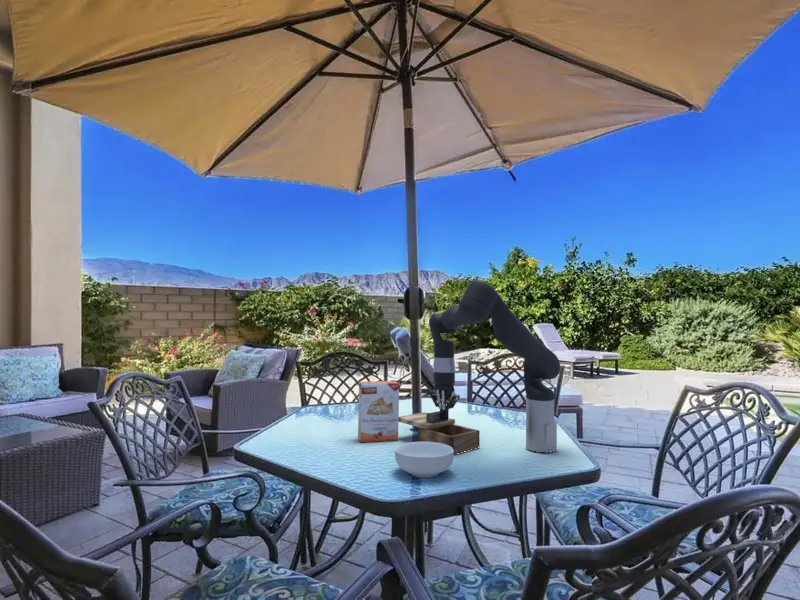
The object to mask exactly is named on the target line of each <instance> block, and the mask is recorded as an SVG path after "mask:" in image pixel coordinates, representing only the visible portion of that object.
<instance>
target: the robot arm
mask: <svg viewBox="0 0 800 600" xmlns="http://www.w3.org/2000/svg"><path fill="white" fill-rule="evenodd" d="M489 317H490V318H491V323H492V324H491V325H492V328H493V332H494V335H495V338H496V339H497V341H498V342H499V344H501V345H502V346H503V347H504V348H505V349H506V351H508V352H510V353H511V354H513V355H516V356H518V357H520V358H523V380H524V381H523V382H524V385H523V386H524V390H525V449H526V448H527V449H529V450H528V451H530V450H532V451H531V452H533V451H536V452H535V453H539V452H546V453H548V452H550V451H553V450H556V449H558V448H557V446H558V441H557V440H558V438H557V437H558V436H557V435H558V434H557V431H558V429H557V428H558V425H557V424H558V422H557V421H555V392H554V390H552V389H551V388H549V387H548V386H546V385H545V384H544V383H543V382H542V380H553V379H556V378H557V377H558V376H559V375H560V373H561V372H560V371H561V363H560V360H559V357H558V356H557V355H556V354H555V352H553V351H552V350H550V349H549V348H548V347H547V346H545V345H544V344H543V343H542V342H541V341H540V340H539V339H538V338H537V337H536V336H535V335H534V334H533V333H532V332H531V331H530V330H529V329H528V327H527V326H526V325H525V324H524V323H523V321H521V320H520V319H519V318H518V317H517V316H516V315H515V314H514V313H513V312H512V310H511V309H510V308H509V307H508V306H507V304H506V303H505V301H504V300H503V299H502V297H501V296H500V294H499V293H498V292H497V291H496V289H495V288H494V287H493V286H492V285H491V284H490V283H489V284H488V283H487V282H485V281H482V280H480V279H479V280H478V279H475V280H472V281H471V282H469V284H468V285H467V287H466V289H465V291H464V293H463V295H462V297H461V299H460V301H459V304H456V305H455V304H454V305H451V306H450V307H449V308H447V309H446V310H445V311H443V312H442V313H441V312H440V313H432V314H431V315H430V317H429V319H428V326H429V329H430V334H431V337H432V341H433V367H432V368H433V370H432V371H433V376H432V377H433V378H432V379H433V382H432V383H433V384H434V387H433V390H431V391H429V392H428V393H429V396H430V398H431V400H432V402H433V404H434V406H435V407H437V408H438V409H439V411H440V418H441V420H443V421H446V420H448V418H450V416H449V413H450V412H449V410H450V409H454V407H455V406H456V405H457V403H458V401H459V399H460V395H459V394H457V393H456V392H455V391H456V389H455V387H454V385H455V384H456V363H455V343H454V342H453V341H452V340H449V339H444V338H443V337H442V335H441V334H454V333H457V332H458V331H459V328H460V327H462V326H464V325H467V326H468V325H477V324H481V323H484V322H486V321H487V320H488V318H489ZM527 449H526V450H527ZM556 451H557V450H556ZM553 452H554V451H553ZM546 453H545V454H546ZM550 453H551V452H550ZM548 454H549V453H548Z"/></svg>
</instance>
